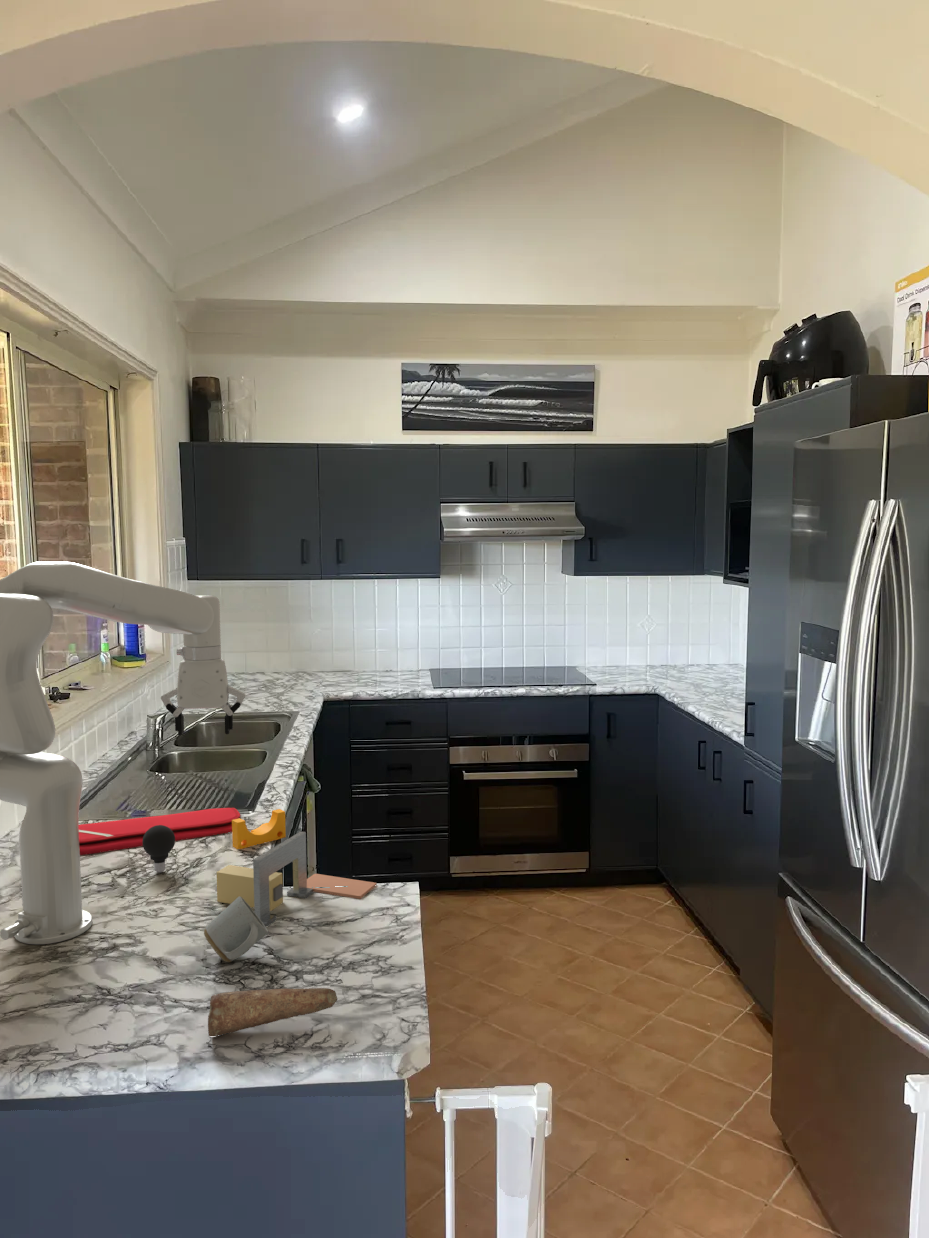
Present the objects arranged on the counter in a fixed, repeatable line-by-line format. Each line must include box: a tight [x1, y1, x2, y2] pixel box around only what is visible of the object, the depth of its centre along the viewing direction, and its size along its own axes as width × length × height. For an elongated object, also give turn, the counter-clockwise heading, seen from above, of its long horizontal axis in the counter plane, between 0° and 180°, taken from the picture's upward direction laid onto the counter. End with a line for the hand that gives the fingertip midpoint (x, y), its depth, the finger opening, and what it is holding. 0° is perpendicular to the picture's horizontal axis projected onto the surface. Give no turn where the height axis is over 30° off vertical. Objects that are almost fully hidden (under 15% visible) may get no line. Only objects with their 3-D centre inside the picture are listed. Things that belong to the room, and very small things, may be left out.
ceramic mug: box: [203, 896, 269, 963], centre depth 145 cm, size 11×8×8 cm
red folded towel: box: [79, 807, 248, 856], centre depth 208 cm, size 16×41×4 cm, turn 117°
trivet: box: [307, 873, 377, 900], centre depth 176 cm, size 7×14×1 cm, turn 69°
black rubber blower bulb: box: [142, 825, 176, 874], centre depth 184 cm, size 6×6×10 cm
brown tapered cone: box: [207, 987, 338, 1036], centre depth 126 cm, size 6×18×6 cm, turn 108°
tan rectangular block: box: [216, 864, 284, 912], centre depth 169 cm, size 4×12×6 cm, turn 69°
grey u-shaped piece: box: [252, 831, 314, 927], centre depth 166 cm, size 16×4×12 cm, turn 159°
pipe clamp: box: [231, 808, 287, 850], centre depth 202 cm, size 12×4×6 cm, turn 132°
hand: (204, 733), depth 190 cm, fingers open, 9 cm apart
